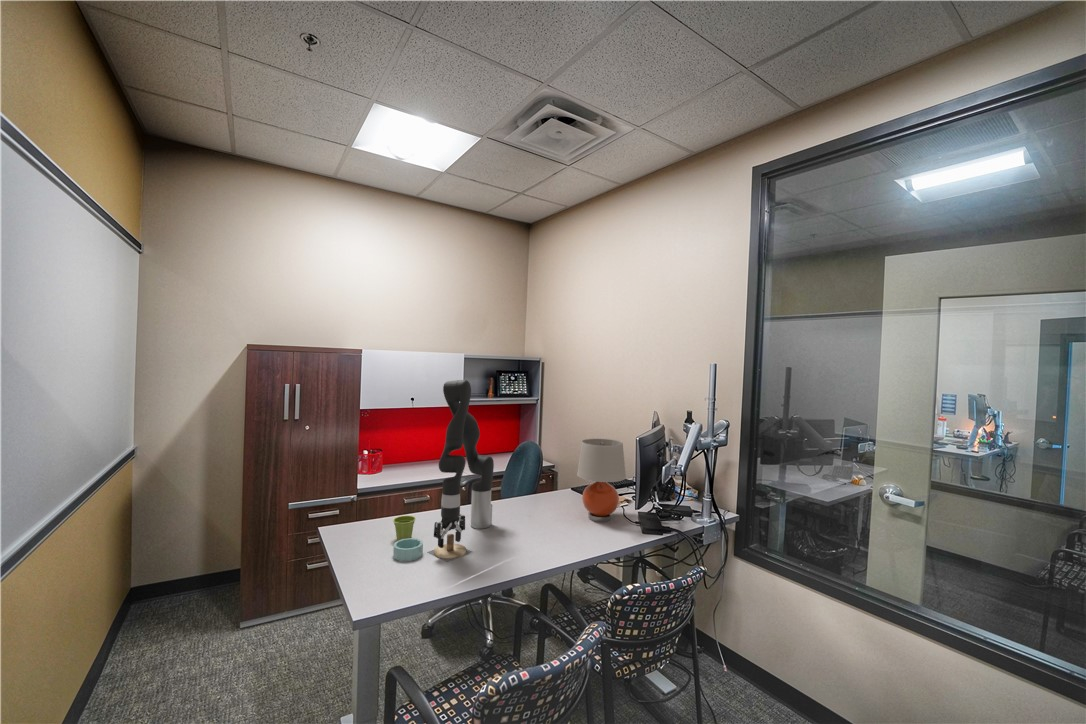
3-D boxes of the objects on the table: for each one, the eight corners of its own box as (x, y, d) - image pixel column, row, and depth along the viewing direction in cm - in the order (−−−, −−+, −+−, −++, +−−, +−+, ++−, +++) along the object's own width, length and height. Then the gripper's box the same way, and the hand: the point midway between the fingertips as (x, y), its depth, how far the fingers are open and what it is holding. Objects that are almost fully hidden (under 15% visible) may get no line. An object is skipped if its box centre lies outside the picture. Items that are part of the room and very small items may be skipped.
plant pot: (392, 544, 193) (392, 523, 193) (393, 535, 202) (393, 516, 202) (415, 542, 196) (415, 522, 196) (415, 534, 205) (415, 514, 205)
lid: (452, 542, 195) (452, 527, 195) (472, 551, 187) (473, 535, 187) (426, 552, 185) (427, 535, 185) (447, 561, 177) (448, 544, 177)
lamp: (565, 516, 234) (568, 440, 234) (597, 506, 251) (599, 436, 251) (602, 530, 216) (605, 448, 216) (634, 519, 233) (636, 443, 232)
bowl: (411, 548, 190) (411, 536, 190) (427, 555, 183) (428, 543, 183) (387, 556, 181) (388, 543, 181) (404, 565, 174) (404, 551, 174)
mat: (452, 544, 195) (452, 542, 195) (472, 553, 187) (472, 551, 187) (426, 553, 185) (426, 552, 185) (447, 563, 177) (447, 561, 177)
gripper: (458, 498, 194) (457, 537, 194) (430, 506, 183) (429, 546, 183) (470, 502, 189) (468, 542, 189) (442, 510, 178) (441, 552, 178)
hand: (449, 544), depth 186 cm, fingers open, 8 cm apart
